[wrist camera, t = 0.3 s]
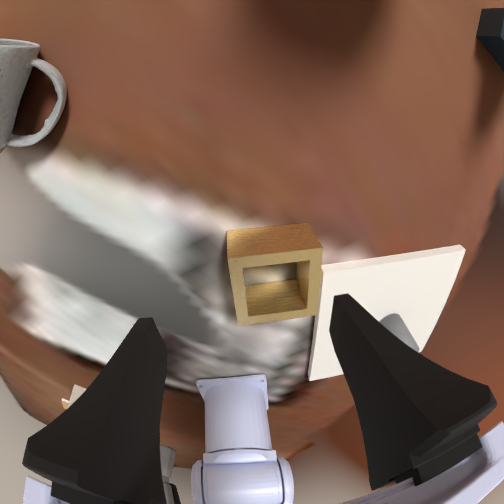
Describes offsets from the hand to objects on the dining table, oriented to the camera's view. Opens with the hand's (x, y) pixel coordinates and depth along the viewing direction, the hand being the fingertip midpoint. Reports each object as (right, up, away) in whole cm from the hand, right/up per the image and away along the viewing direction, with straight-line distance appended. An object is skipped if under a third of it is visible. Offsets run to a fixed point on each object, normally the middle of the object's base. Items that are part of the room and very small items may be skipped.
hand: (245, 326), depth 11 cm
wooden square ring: (+2, +2, +10) cm, 11 cm away
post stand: (+14, -4, +16) cm, 21 cm away
